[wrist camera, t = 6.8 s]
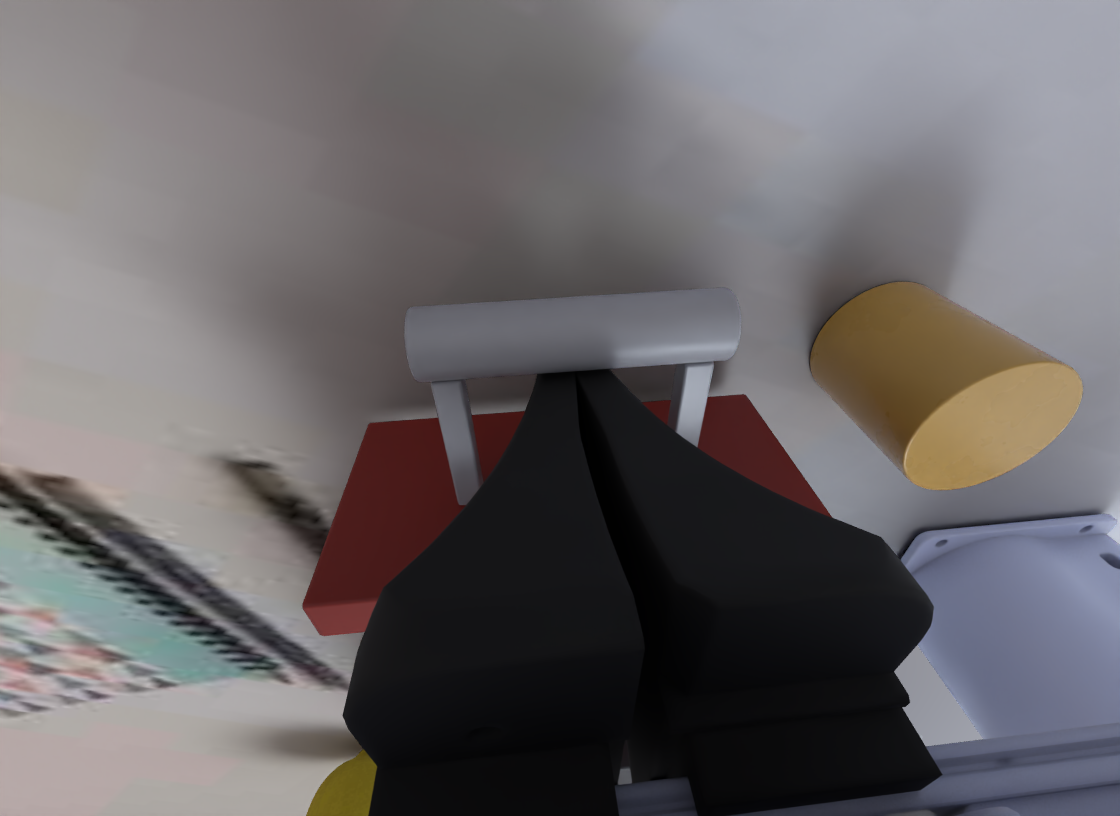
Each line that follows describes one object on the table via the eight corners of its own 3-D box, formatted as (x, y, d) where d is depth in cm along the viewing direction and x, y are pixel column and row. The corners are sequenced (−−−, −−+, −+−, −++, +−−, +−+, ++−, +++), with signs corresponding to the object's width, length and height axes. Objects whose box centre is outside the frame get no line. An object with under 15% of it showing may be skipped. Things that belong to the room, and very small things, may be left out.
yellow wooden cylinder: (964, 276, 14) (1125, 355, 10) (906, 389, 16) (1020, 484, 13) (833, 284, 14) (951, 368, 10) (794, 397, 16) (878, 497, 12)
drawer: (309, 256, 11) (165, 407, 6) (789, 229, 11) (980, 347, 7) (446, 646, 22) (431, 804, 17) (685, 621, 23) (731, 767, 18)
